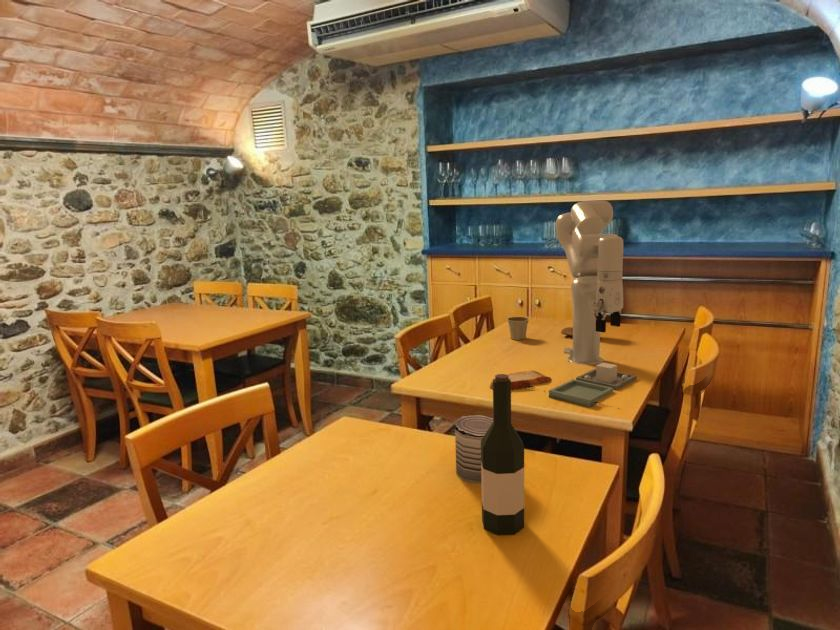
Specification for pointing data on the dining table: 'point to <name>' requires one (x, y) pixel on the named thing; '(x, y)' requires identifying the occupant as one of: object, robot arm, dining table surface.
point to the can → (470, 445)
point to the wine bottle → (502, 467)
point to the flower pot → (518, 327)
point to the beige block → (606, 372)
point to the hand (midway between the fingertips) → (608, 328)
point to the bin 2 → (620, 382)
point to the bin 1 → (580, 392)
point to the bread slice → (525, 379)
